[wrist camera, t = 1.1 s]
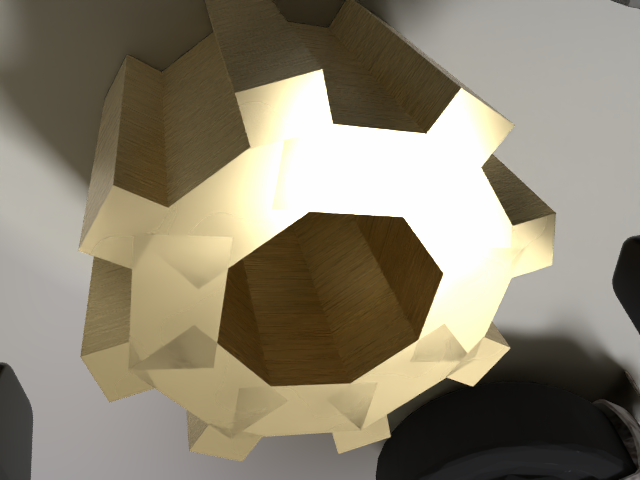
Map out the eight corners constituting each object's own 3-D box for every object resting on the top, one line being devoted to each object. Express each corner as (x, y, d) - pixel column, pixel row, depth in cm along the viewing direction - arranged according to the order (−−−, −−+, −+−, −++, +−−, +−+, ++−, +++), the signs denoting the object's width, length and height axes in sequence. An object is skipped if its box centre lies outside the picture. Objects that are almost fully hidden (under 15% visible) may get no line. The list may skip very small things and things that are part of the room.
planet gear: (466, 16, 12) (629, 110, 8) (380, 285, 15) (462, 444, 11) (105, -47, 10) (73, 35, 6) (103, 280, 13) (82, 474, 9)
